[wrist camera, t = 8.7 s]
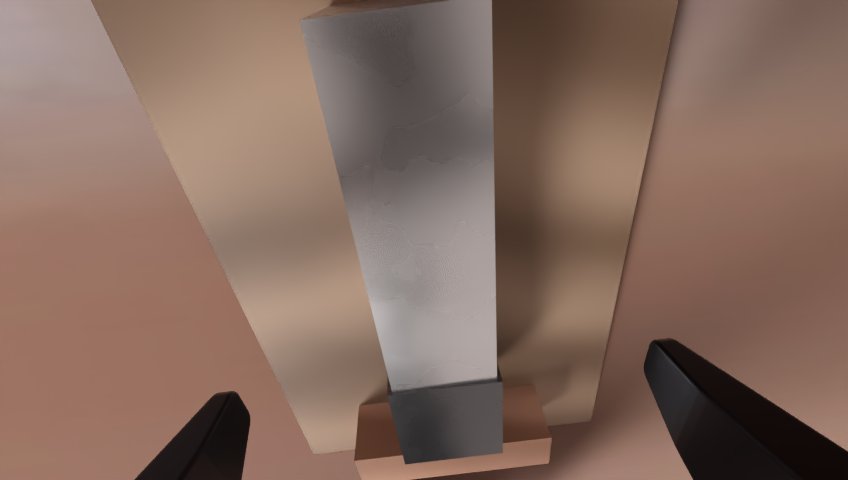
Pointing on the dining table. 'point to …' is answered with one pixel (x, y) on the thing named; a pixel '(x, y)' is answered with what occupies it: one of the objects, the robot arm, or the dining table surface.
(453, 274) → the two-tone gray brick
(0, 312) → the dining table surface
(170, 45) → the lock cradle
